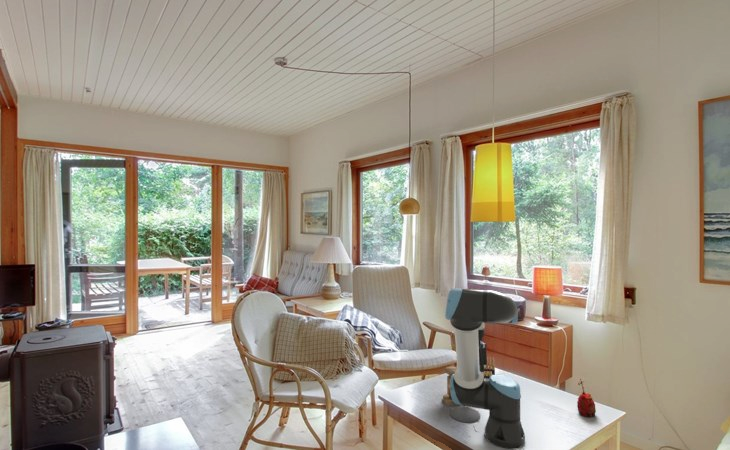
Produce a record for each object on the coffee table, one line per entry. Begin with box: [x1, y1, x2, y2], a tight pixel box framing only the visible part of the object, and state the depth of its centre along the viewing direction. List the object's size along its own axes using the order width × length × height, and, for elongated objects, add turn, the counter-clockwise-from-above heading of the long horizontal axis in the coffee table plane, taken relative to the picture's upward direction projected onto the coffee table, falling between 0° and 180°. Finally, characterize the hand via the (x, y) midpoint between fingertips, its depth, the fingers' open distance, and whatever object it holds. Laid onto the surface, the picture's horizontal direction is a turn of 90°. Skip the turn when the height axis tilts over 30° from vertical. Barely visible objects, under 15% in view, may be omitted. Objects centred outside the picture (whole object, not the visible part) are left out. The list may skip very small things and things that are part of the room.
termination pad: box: [449, 406, 481, 424], centre depth 169 cm, size 13×13×1 cm
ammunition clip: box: [484, 356, 496, 379], centre depth 209 cm, size 11×2×12 cm, turn 78°
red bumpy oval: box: [576, 378, 597, 418], centre depth 170 cm, size 8×7×15 cm
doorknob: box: [442, 365, 463, 407], centre depth 181 cm, size 10×10×15 cm
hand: (476, 374), depth 184 cm, fingers closed on white cup, 7 cm apart
